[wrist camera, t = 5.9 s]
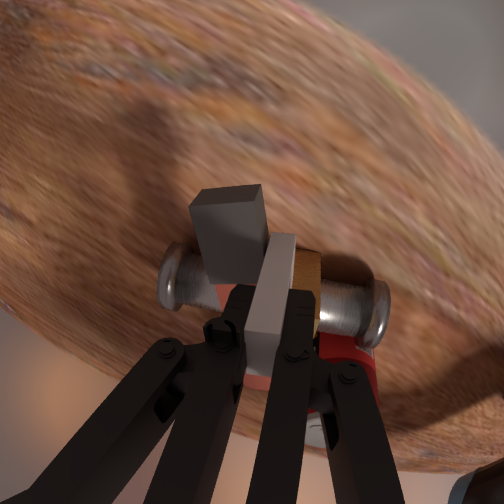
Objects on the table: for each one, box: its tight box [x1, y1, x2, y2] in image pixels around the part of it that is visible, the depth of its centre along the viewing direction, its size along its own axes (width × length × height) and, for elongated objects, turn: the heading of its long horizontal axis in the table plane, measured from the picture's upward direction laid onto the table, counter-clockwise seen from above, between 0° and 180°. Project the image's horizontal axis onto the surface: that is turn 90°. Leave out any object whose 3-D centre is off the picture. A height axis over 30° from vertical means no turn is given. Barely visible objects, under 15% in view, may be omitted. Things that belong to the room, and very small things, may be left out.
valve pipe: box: [157, 241, 391, 349], centre depth 26 cm, size 18×6×9 cm, turn 83°
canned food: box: [305, 331, 379, 448], centre depth 29 cm, size 8×8×11 cm
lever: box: [189, 184, 271, 390], centre depth 18 cm, size 14×4×2 cm, turn 9°
